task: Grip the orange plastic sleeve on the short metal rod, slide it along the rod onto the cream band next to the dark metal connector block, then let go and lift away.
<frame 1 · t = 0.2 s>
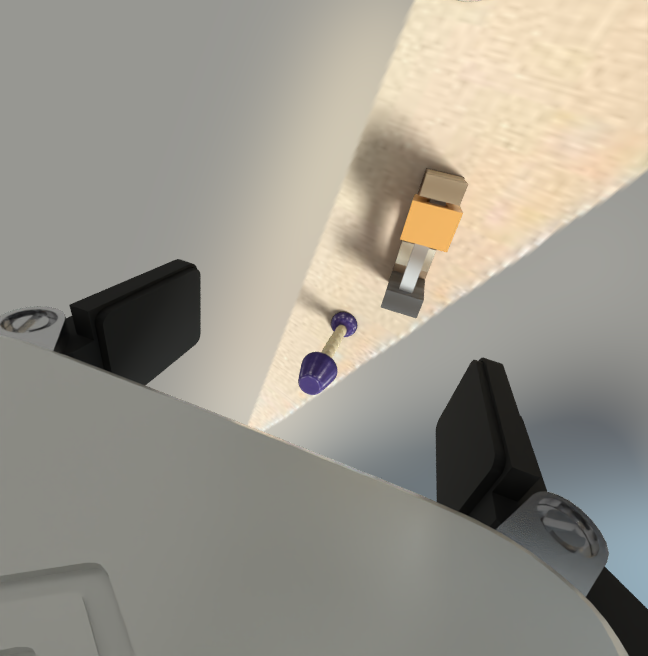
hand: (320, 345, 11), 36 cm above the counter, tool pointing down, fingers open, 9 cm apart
sleeve: (430, 221, 35), point 6 cm above the counter, slide at 0.0 cm
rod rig: (422, 235, 42), on the counter
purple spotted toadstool: (344, 321, 52), on the counter
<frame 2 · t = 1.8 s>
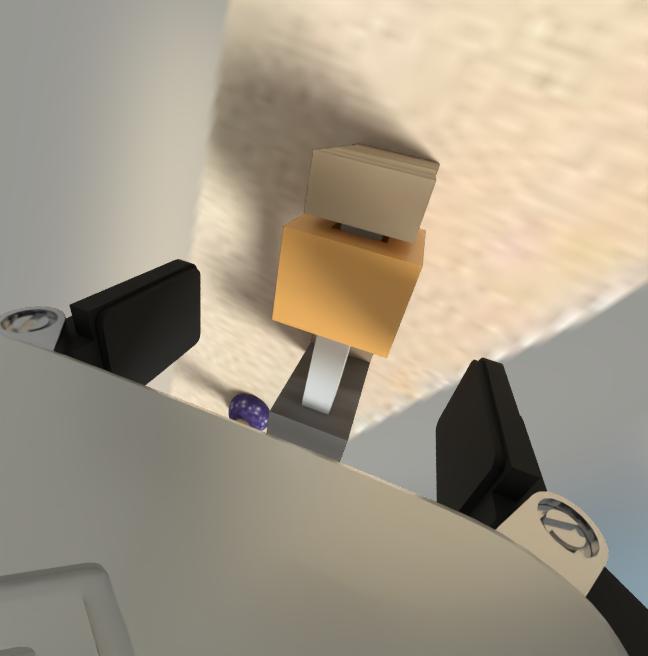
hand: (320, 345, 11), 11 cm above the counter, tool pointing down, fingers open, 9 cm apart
sleeve: (352, 273, 14), point 6 cm above the counter, slide at 0.0 cm
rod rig: (362, 279, 21), on the counter
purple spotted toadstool: (251, 406, 31), on the counter
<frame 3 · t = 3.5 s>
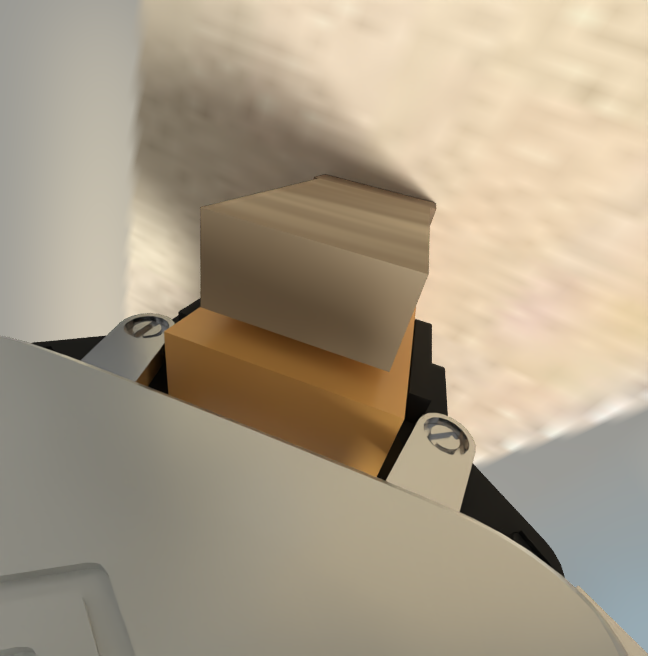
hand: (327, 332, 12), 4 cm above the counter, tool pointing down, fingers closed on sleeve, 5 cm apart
sleeve: (303, 375, 9), point 7 cm above the counter, slide at 0.0 cm, touching gripper
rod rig: (336, 344, 16), on the counter
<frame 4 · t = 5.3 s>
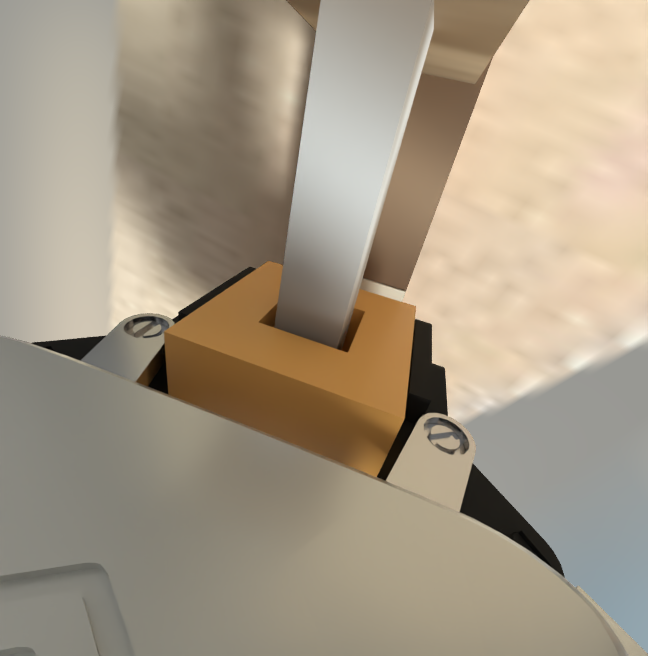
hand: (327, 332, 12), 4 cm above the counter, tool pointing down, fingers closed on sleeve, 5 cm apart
sleeve: (303, 375, 9), point 6 cm above the counter, slide at 5.4 cm, touching gripper
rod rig: (364, 241, 14), on the counter
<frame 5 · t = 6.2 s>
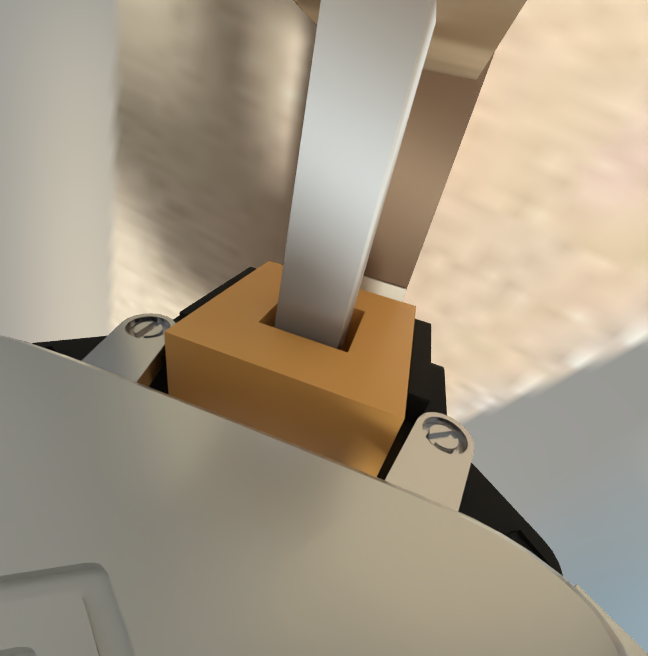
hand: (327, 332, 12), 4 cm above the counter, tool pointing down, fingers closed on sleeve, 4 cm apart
sleeve: (303, 374, 9), point 6 cm above the counter, slide at 5.5 cm, touching gripper
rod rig: (365, 238, 13), on the counter
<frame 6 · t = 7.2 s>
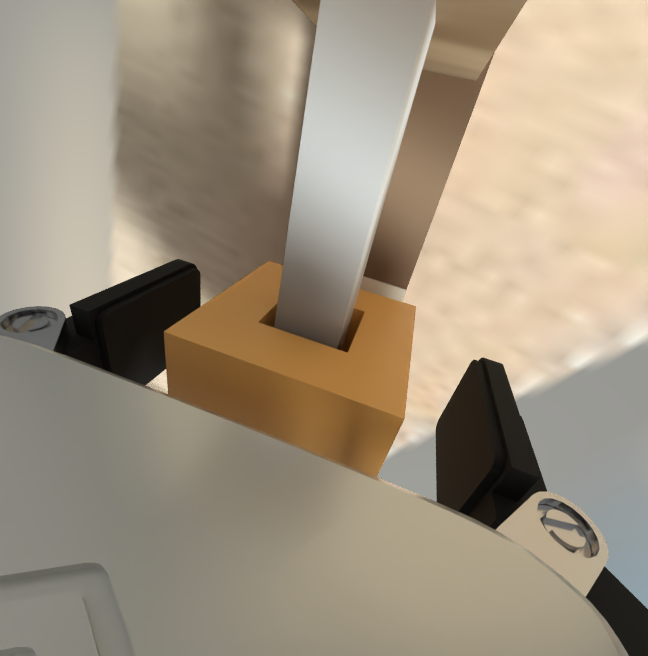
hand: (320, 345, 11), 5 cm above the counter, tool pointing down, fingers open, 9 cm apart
sleeve: (303, 375, 9), point 7 cm above the counter, slide at 5.5 cm
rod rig: (365, 239, 13), on the counter
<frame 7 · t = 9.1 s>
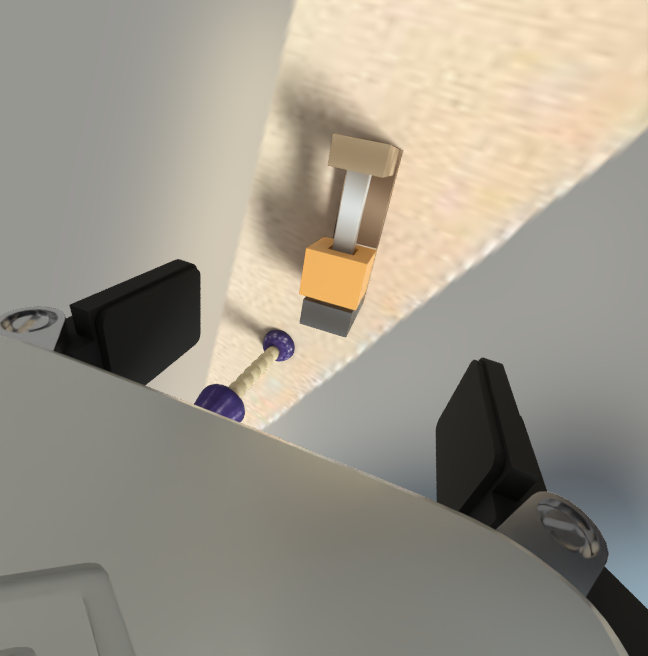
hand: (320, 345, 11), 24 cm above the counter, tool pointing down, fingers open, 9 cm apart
sleeve: (338, 271, 28), point 6 cm above the counter, slide at 5.5 cm
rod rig: (359, 230, 33), on the counter
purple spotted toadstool: (279, 341, 42), on the counter
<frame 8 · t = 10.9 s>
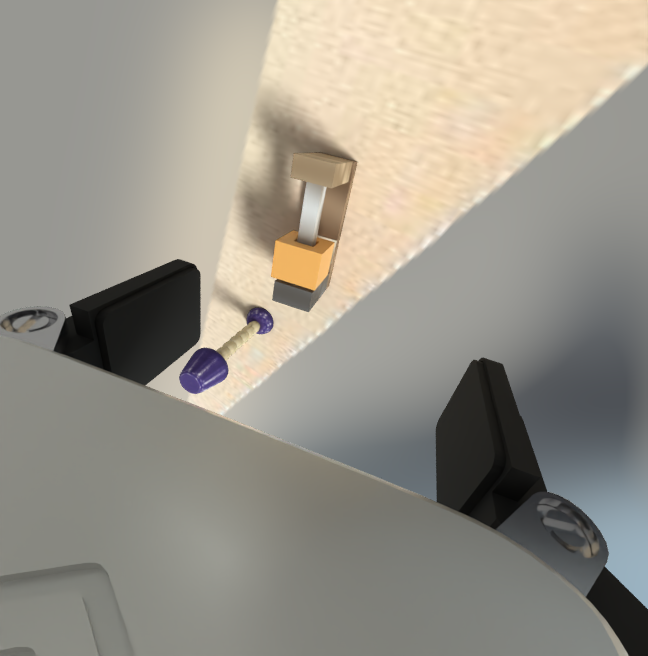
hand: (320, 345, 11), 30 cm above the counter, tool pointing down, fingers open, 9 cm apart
sleeve: (303, 259, 35), point 6 cm above the counter, slide at 5.5 cm
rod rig: (324, 224, 39), on the counter
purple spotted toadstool: (260, 317, 49), on the counter
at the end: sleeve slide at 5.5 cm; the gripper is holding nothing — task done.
